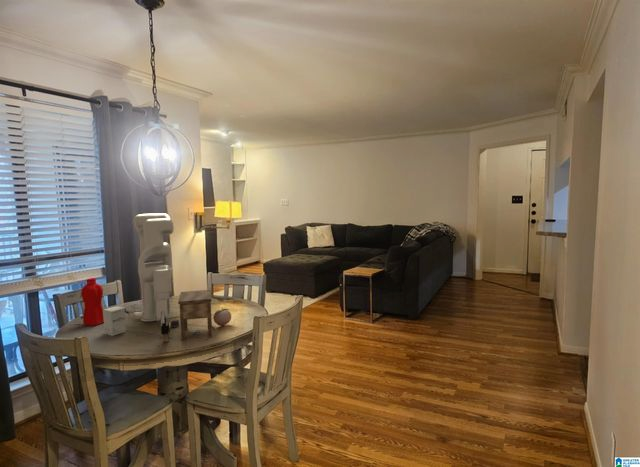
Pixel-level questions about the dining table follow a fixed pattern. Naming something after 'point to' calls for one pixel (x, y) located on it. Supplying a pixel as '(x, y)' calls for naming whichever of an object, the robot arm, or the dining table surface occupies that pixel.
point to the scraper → (171, 323)
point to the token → (195, 332)
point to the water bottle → (92, 303)
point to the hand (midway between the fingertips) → (165, 332)
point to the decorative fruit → (222, 317)
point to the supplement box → (114, 320)
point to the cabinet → (195, 309)
